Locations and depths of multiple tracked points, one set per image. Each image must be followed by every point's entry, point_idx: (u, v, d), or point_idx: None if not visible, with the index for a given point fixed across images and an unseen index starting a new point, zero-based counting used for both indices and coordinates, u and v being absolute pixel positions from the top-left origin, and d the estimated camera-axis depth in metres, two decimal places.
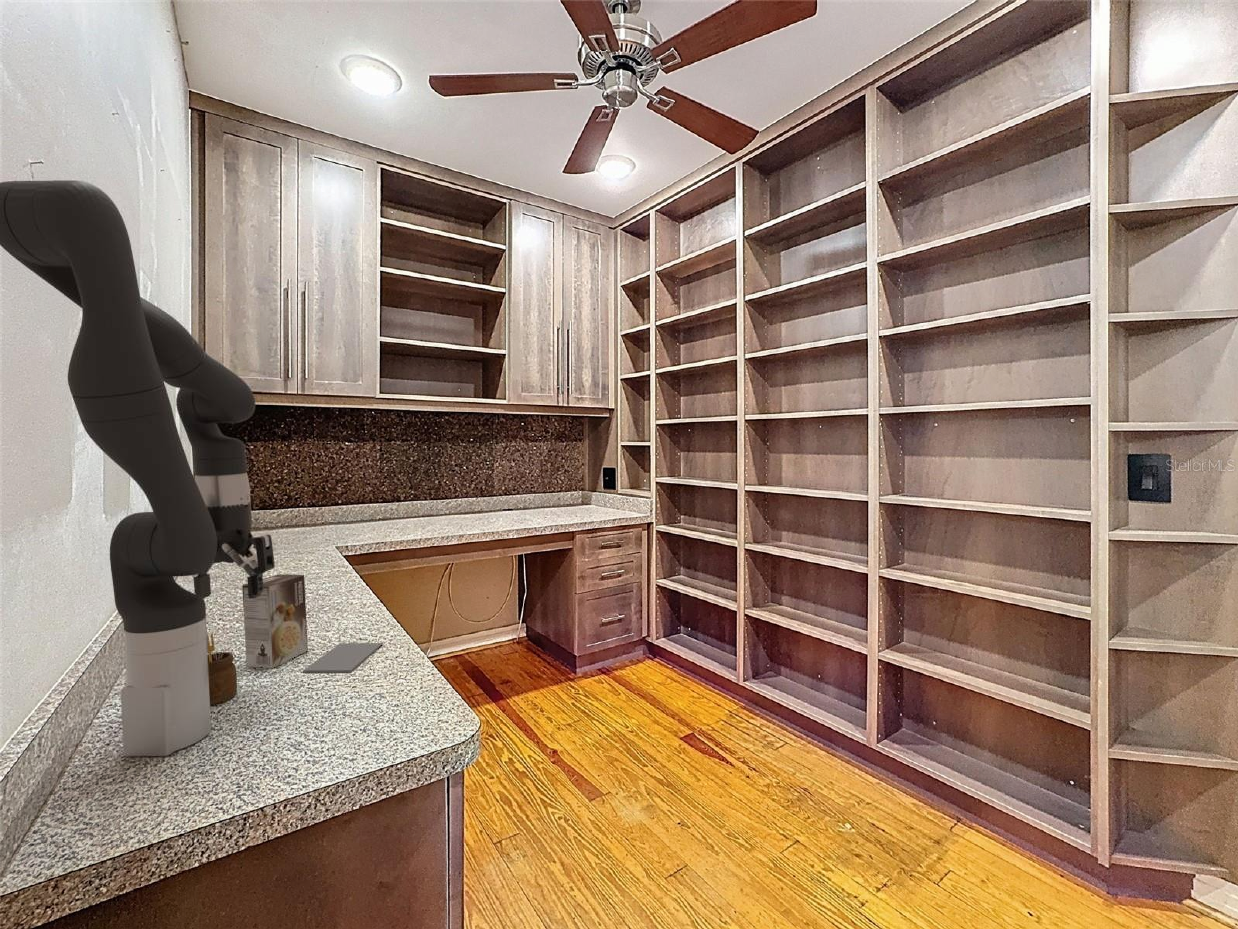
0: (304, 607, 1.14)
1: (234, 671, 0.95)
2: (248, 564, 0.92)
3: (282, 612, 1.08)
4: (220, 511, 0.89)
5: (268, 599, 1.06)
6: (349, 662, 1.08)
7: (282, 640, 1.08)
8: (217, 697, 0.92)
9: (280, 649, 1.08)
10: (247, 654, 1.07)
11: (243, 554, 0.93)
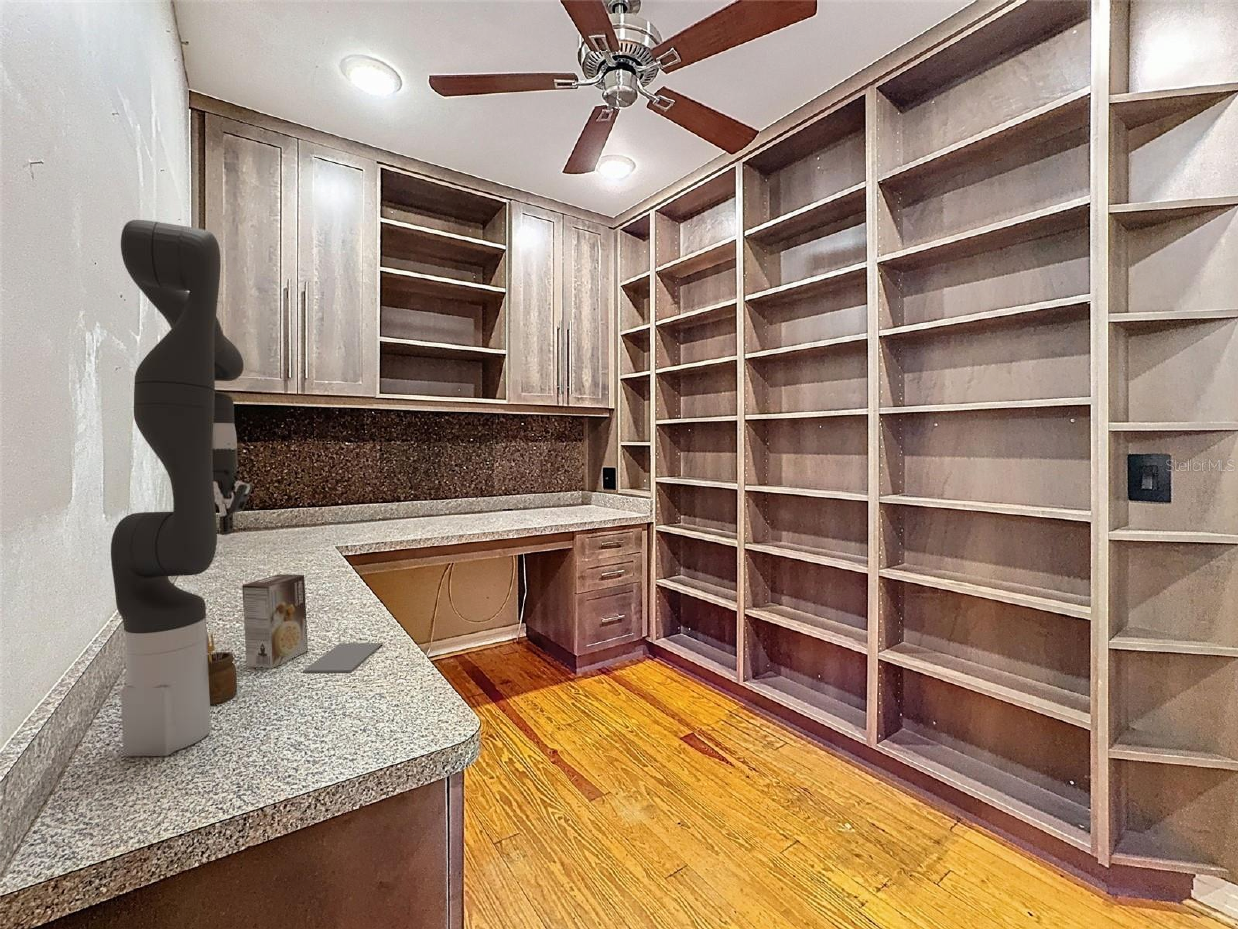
0: (304, 607, 1.14)
1: (234, 671, 0.95)
2: (224, 505, 1.09)
3: (282, 612, 1.09)
4: None
5: (268, 599, 1.06)
6: (349, 662, 1.08)
7: (282, 640, 1.08)
8: (217, 697, 0.92)
9: (280, 649, 1.08)
10: (247, 654, 1.07)
11: (229, 492, 1.10)
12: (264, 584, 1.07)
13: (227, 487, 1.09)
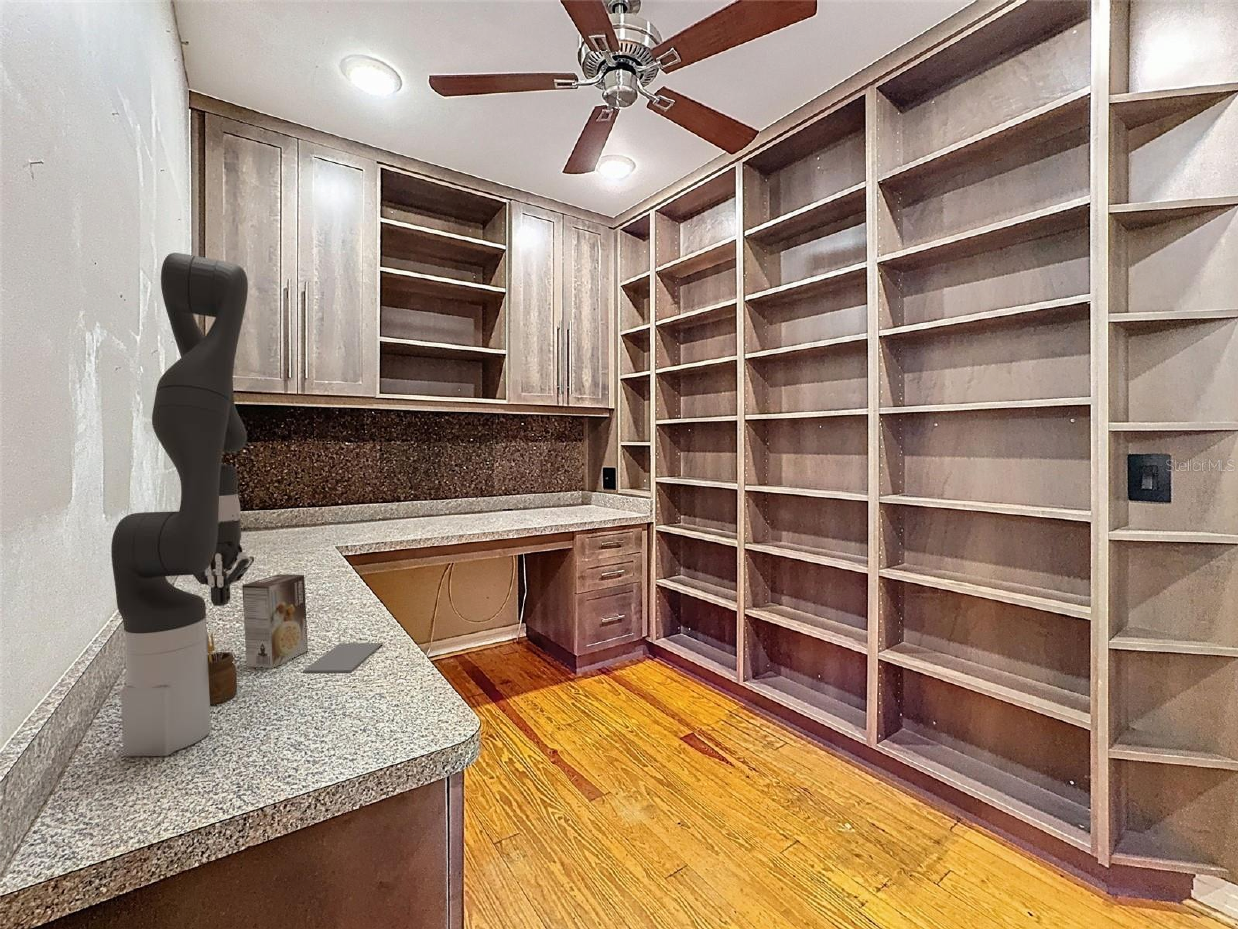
0: (304, 607, 1.14)
1: (234, 671, 0.95)
2: (223, 578, 1.09)
3: (282, 612, 1.09)
4: None
5: (268, 599, 1.06)
6: (349, 662, 1.08)
7: (282, 640, 1.08)
8: (217, 697, 0.92)
9: (280, 649, 1.08)
10: (247, 654, 1.07)
11: (233, 562, 1.10)
12: (264, 584, 1.07)
13: (231, 558, 1.09)
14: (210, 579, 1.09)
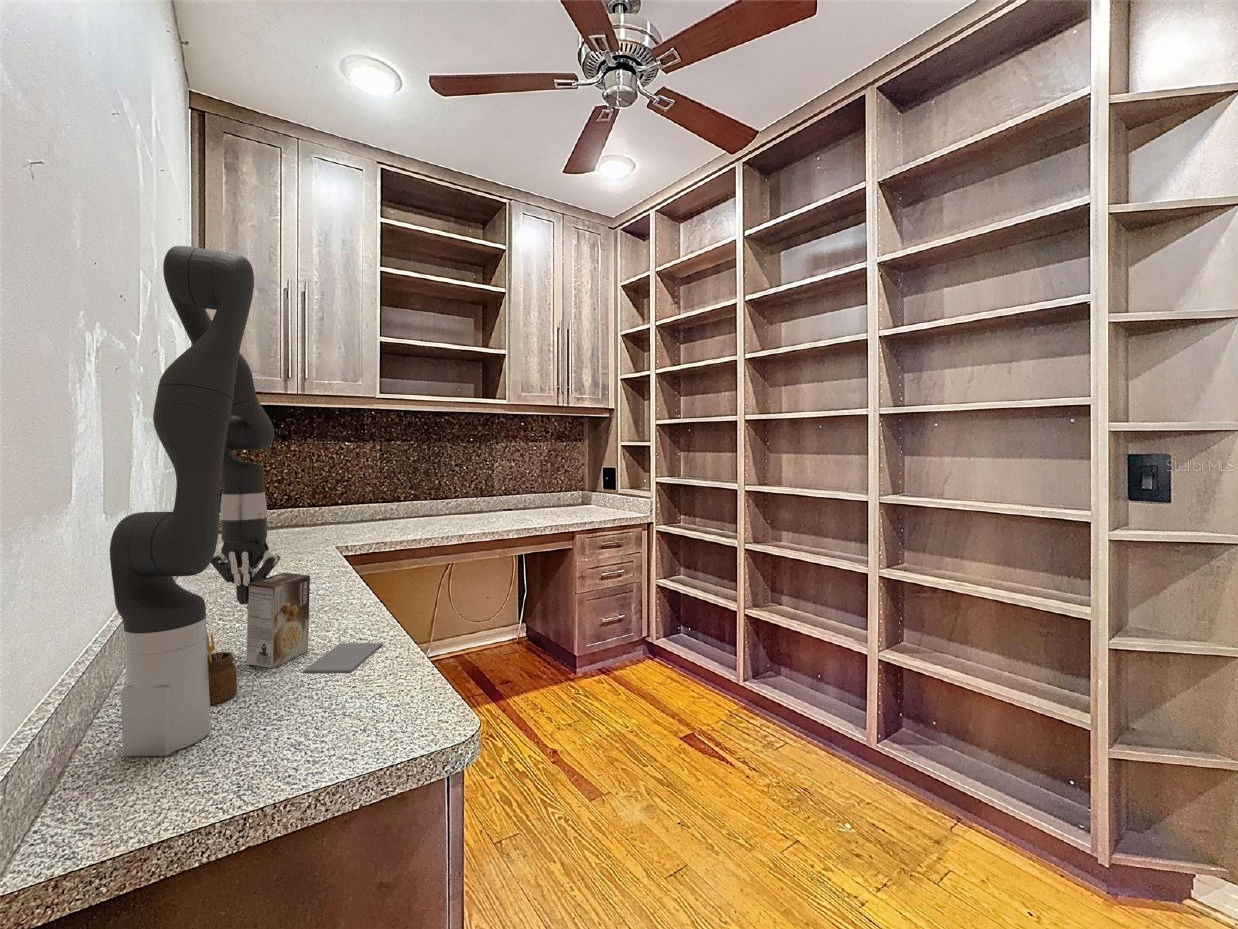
0: (307, 607, 1.14)
1: (234, 671, 0.95)
2: (249, 576, 1.09)
3: (286, 612, 1.08)
4: (242, 524, 1.06)
5: (274, 599, 1.06)
6: (349, 662, 1.08)
7: (284, 640, 1.08)
8: (217, 697, 0.92)
9: (281, 649, 1.08)
10: (248, 652, 1.07)
11: (259, 561, 1.10)
12: (270, 584, 1.07)
13: (257, 557, 1.09)
14: (236, 577, 1.09)
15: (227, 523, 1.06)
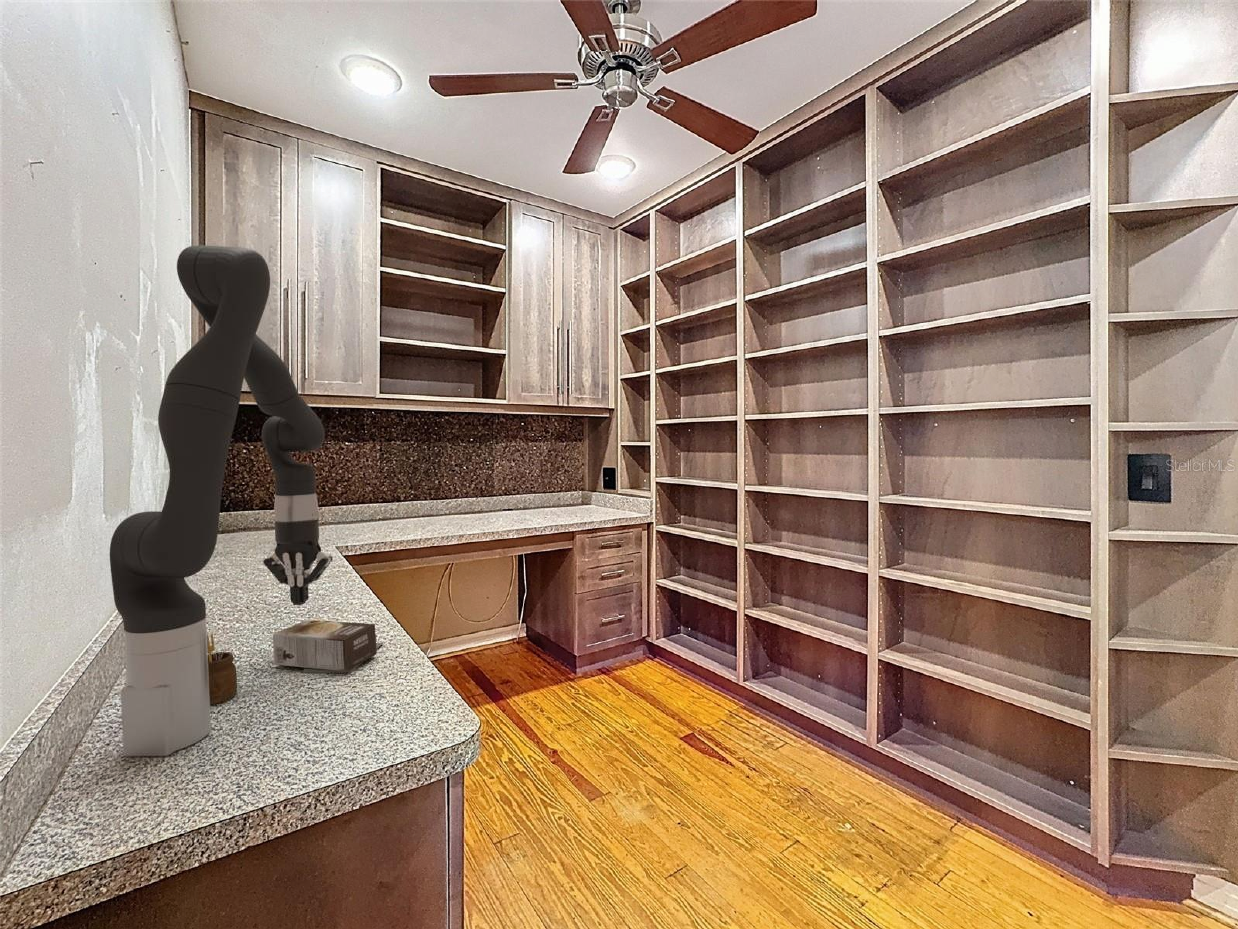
0: None
1: (234, 671, 0.95)
2: (303, 577, 1.09)
3: None
4: (296, 525, 1.07)
5: (334, 669, 1.04)
6: None
7: None
8: (217, 697, 0.92)
9: None
10: (283, 637, 1.06)
11: (312, 562, 1.10)
12: (349, 659, 1.04)
13: (311, 558, 1.09)
14: (289, 578, 1.09)
15: (282, 524, 1.06)
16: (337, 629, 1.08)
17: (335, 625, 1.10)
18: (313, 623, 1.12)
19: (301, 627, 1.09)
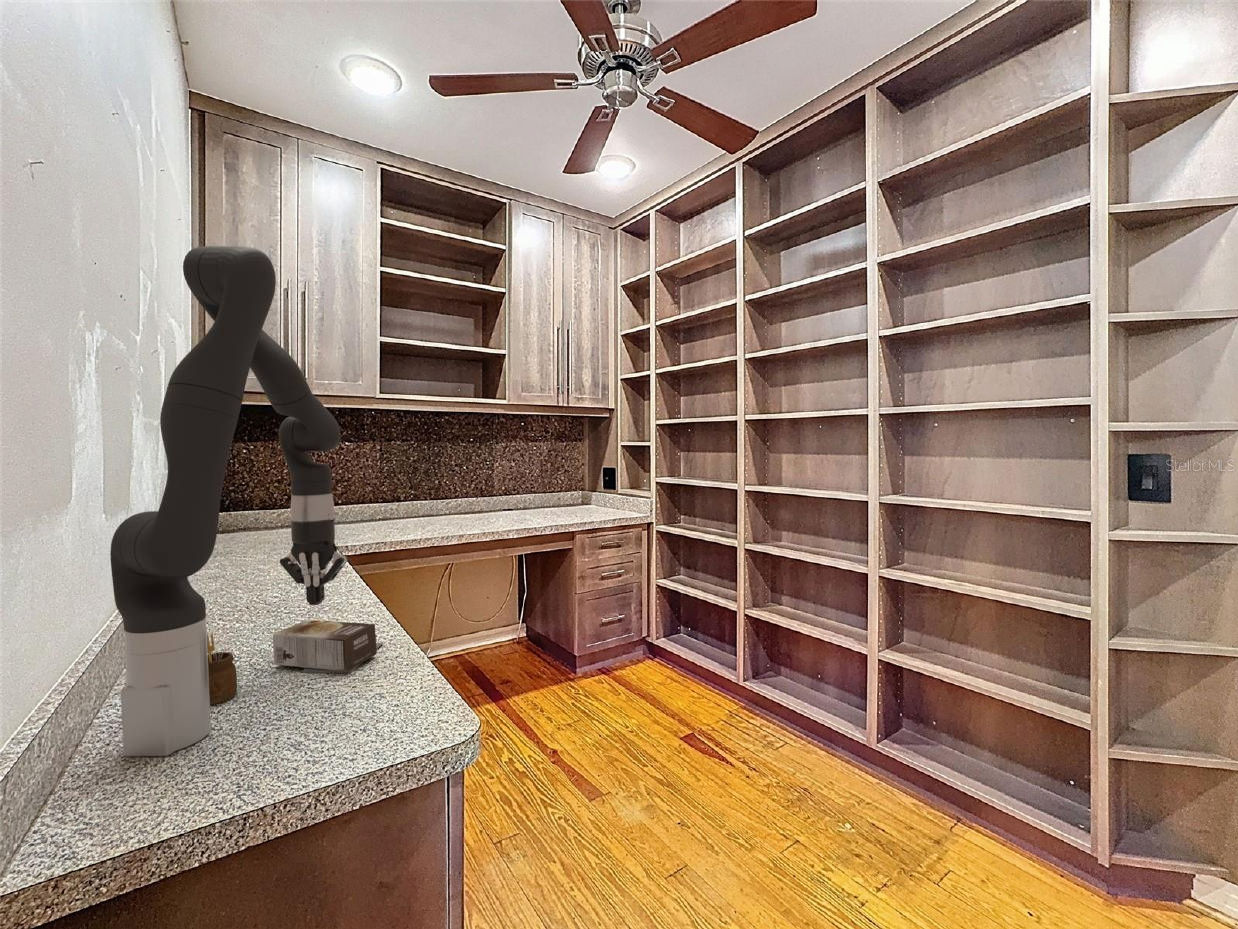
0: None
1: (234, 671, 0.95)
2: (319, 577, 1.09)
3: None
4: (313, 525, 1.07)
5: (334, 669, 1.04)
6: None
7: None
8: (217, 697, 0.92)
9: None
10: (283, 637, 1.06)
11: (328, 562, 1.10)
12: (349, 659, 1.04)
13: (327, 557, 1.09)
14: (306, 578, 1.09)
15: (298, 524, 1.06)
16: (337, 629, 1.08)
17: (335, 625, 1.10)
18: (313, 623, 1.12)
19: (301, 627, 1.09)
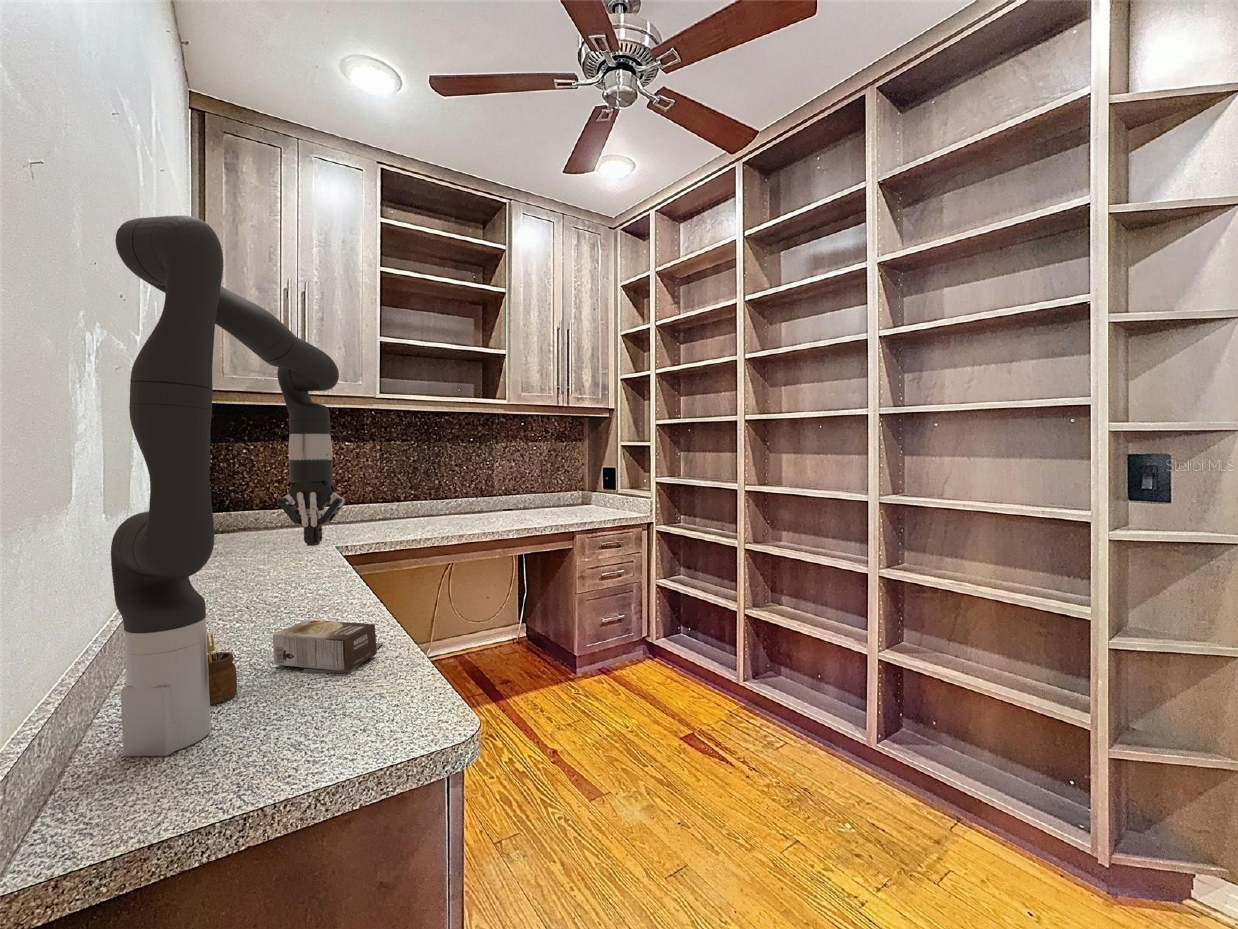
0: None
1: (234, 671, 0.95)
2: (317, 517, 1.09)
3: None
4: (310, 463, 1.06)
5: (334, 669, 1.04)
6: None
7: None
8: (217, 697, 0.92)
9: None
10: (283, 637, 1.06)
11: (326, 502, 1.10)
12: (349, 659, 1.04)
13: (325, 498, 1.09)
14: (303, 518, 1.09)
15: (296, 462, 1.06)
16: (337, 629, 1.08)
17: (335, 625, 1.10)
18: (313, 623, 1.12)
19: (301, 627, 1.09)
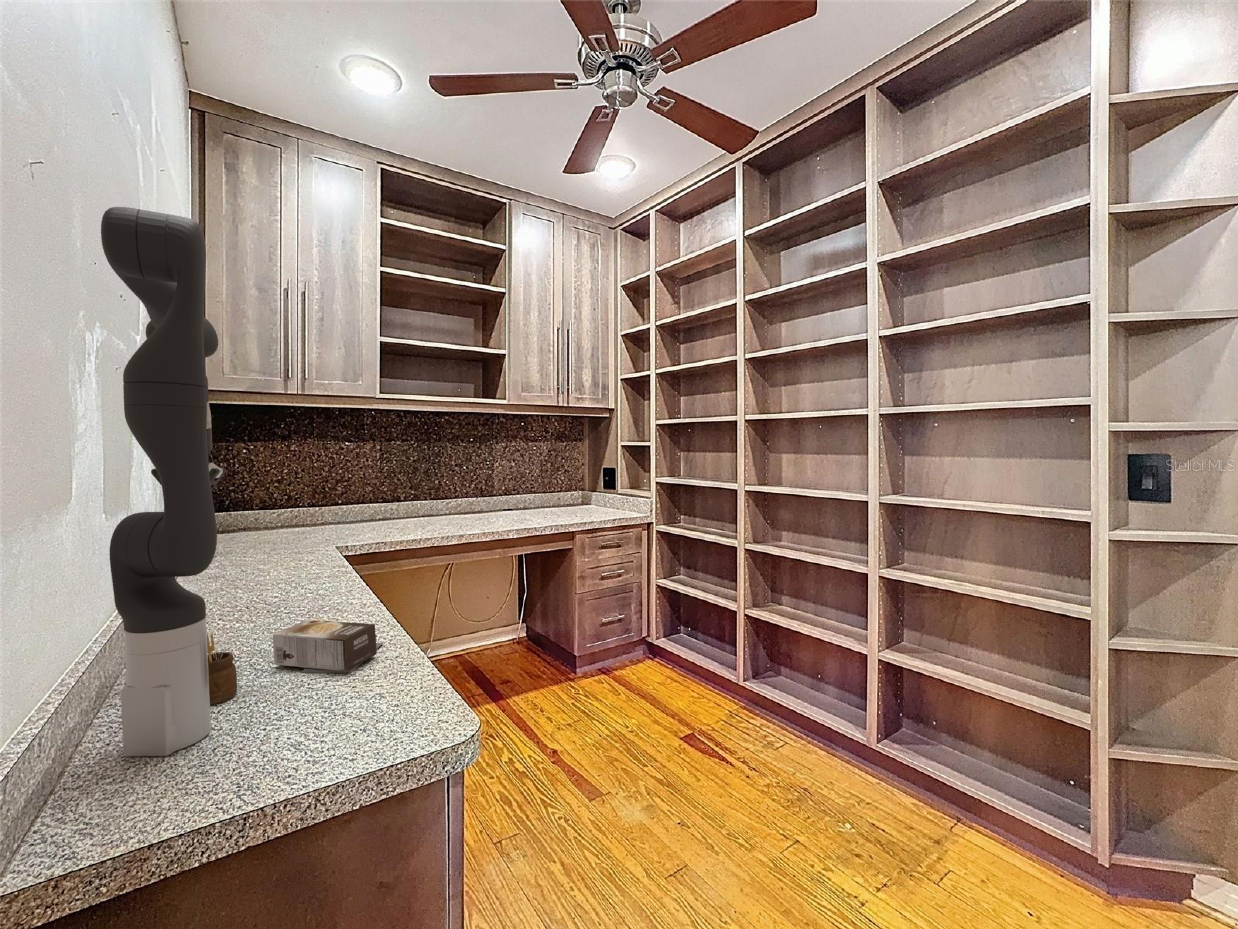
0: None
1: (234, 671, 0.95)
2: None
3: None
4: None
5: (334, 669, 1.04)
6: None
7: None
8: (217, 697, 0.92)
9: None
10: (283, 637, 1.06)
11: None
12: (349, 659, 1.04)
13: None
14: None
15: None
16: (337, 629, 1.08)
17: (335, 625, 1.10)
18: (313, 623, 1.12)
19: (301, 627, 1.09)
